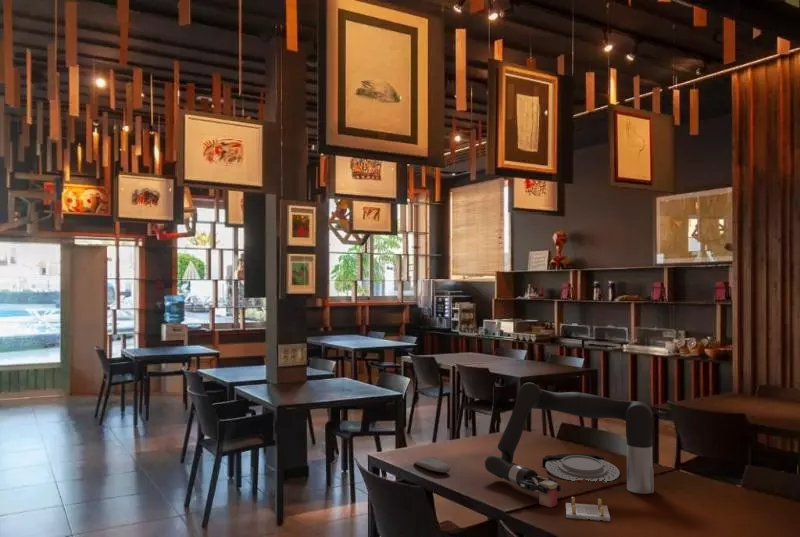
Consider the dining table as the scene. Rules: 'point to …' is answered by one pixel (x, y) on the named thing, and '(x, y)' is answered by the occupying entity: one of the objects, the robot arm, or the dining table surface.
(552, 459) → the brake disc
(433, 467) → the stone
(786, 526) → the dining table surface
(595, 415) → the robot arm
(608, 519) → the chassis
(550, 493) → the small box
